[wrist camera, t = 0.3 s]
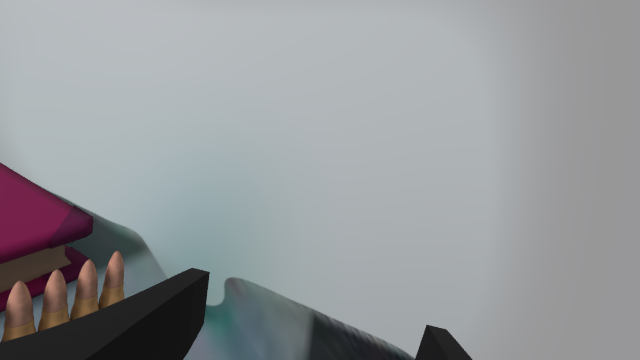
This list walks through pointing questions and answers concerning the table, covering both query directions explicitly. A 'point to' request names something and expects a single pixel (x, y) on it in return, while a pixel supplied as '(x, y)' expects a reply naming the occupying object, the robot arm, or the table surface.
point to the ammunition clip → (63, 299)
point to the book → (36, 235)
